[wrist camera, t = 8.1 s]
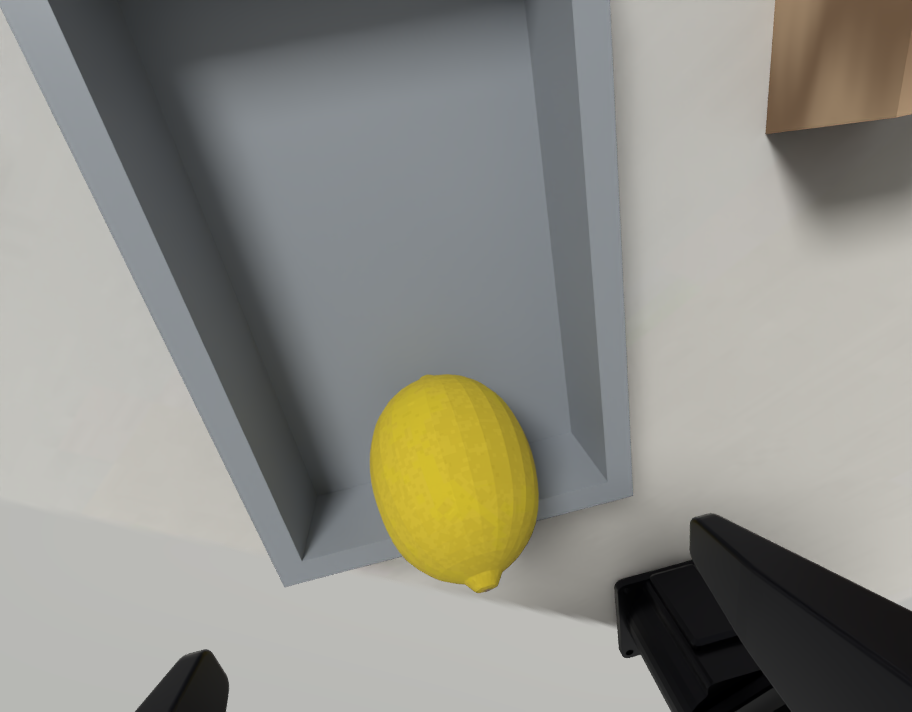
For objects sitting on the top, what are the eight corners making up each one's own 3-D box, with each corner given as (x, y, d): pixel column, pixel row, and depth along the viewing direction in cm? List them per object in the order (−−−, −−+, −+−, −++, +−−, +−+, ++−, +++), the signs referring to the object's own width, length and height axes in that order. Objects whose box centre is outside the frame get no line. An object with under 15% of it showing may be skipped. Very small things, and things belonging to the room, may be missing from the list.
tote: (586, 435, 22) (633, 495, 18) (305, 506, 21) (284, 587, 17) (533, -130, 14) (597, -267, 9) (71, -49, 13) (-82, -159, 9)
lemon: (518, 348, 18) (613, 548, 13) (442, 423, 21) (496, 610, 16) (403, 311, 15) (471, 560, 10) (331, 406, 17) (357, 635, 13)
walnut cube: (878, 109, 18) (1046, 84, 13) (764, 134, 18) (896, 117, 13) (902, -44, 16) (1109, -135, 11) (774, -19, 16) (935, -103, 11)
